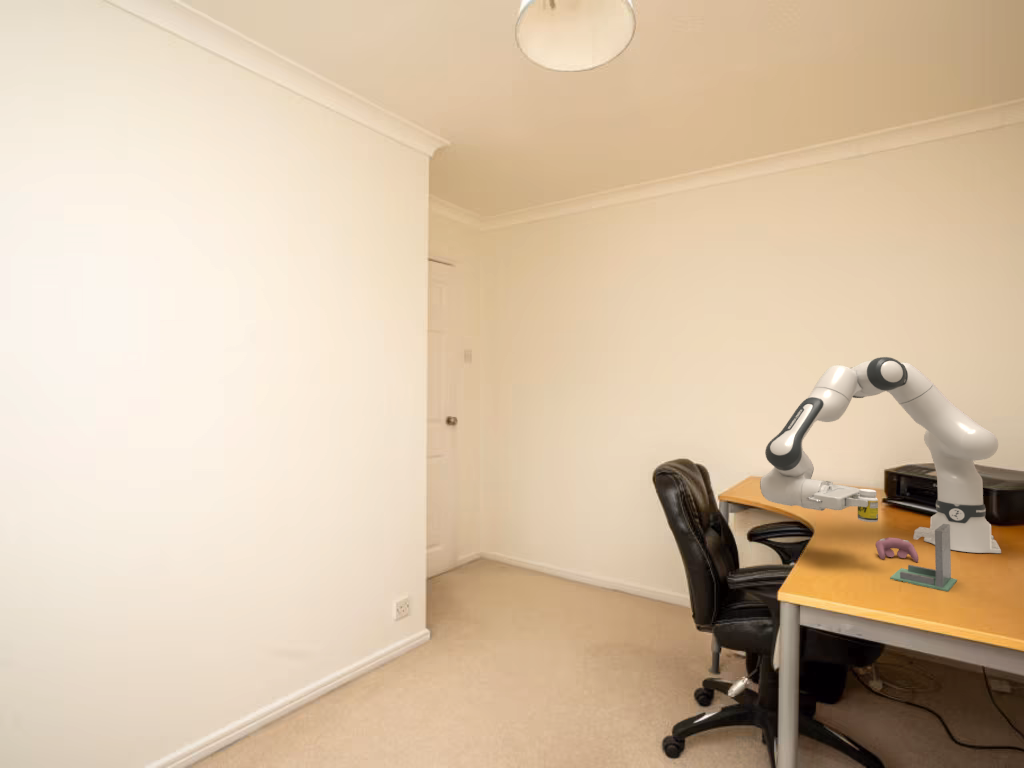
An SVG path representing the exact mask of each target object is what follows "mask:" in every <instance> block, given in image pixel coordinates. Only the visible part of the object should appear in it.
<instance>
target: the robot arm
mask: <svg viewBox="0 0 1024 768" xmlns="http://www.w3.org/2000/svg"><path fill="white" fill-rule="evenodd" d="M885 392H887V393H889V394H890V395H891V396H892V397H893V399H895V401H896V402H897V403H898V405H900V406H901V408H902V409H903V410H904V411H905V412H906V413H907V414H908V415H909V416H910V418H911V419H912V420H913V421H914V422H915V423H916V424H918V425H919V426H920V427H922V428H924V429H925V430H926V431H925V432H924V434H923V440H924V444H925V446H926V447H927V448H928V449H929V452H930V454H931V455H930V456H931V458H932V463H933V464H934V465H933V466H934V468H935V473H936V479H937V480H936V481H937V482H936V485H937V499H936V501H935V507H936V508H935V509H936V513H935V514H933V515H932V516H930V526H929V528H932V529H937V528H938V527H940V526H941V525H942V524H949V525H950V550H952V551H958V552H963V553H966V552H967V553H973V554H975V553H977V554H982V553H983V554H987V553H989V554H1002V549H1001V548H1000V546H999V543H998V542H997V540H995V536H994V535H992V524H991V523H990V522H989V521H987V519H986V511H987V510H986V509H987V508H986V504H984V496H983V495H984V489H983V488H984V487H983V485H984V484H983V482H984V480H983V478H982V476H981V475H980V473H979V472H978V470H977V468H976V466H975V463H974V462H975V461H982V460H987V459H989V458H991V457H993V456H994V455H996V453H997V451H998V448H999V441H998V438H997V436H996V434H994V433H993V432H992V431H990V430H988V429H987V428H985V427H983V426H982V425H980V424H979V423H977V421H975V420H974V419H972V418H971V417H970V416H969V415H967V414H966V413H965V412H964V411H962V410H961V409H960V408H958V407H957V406H955V405H954V403H952V402H951V401H950V400H949V399H948V398H947V397H946V396H945V395H944V394H943V393H942V391H940V389H939V388H938V387H937V386H936V385H935V384H934V382H933V381H931V379H929V378H928V377H927V375H926V374H924V373H923V372H922V371H920V370H919V369H918V368H917V367H915V366H914V365H912V364H911V363H910V362H907V361H906V362H903V361H902V362H901V361H899V360H898V359H895V358H893V357H888V356H883V357H882V356H881V357H876V358H874V359H871V360H870V359H869V360H867V361H863V362H860V363H859V364H857V365H854V366H853V367H848V366H846V365H841V364H836V365H831V366H830V367H828V368H827V369H826V371H824V373H823V374H822V375H821V376H820V378H819V379H818V380H817V382H816V384H815V385H814V387H813V389H812V391H811V392H810V394H809V395H808V397H807V398H805V399H804V400H803V401H802V402H801V403H800V405H799V406H798V407H796V410H795V411H794V412H793V414H792V416H790V418H789V420H788V421H787V422H786V424H785V426H784V427H783V428H782V430H780V432H779V433H778V434H777V435H776V436H774V437H773V438H772V439H771V440H770V441H769V442H768V444H767V445H766V447H765V458H766V460H767V461H768V463H770V465H771V466H773V468H772V469H771V470H770V471H769V472H768V473H767V474H766V475H763V476H762V477H761V479H760V482H759V488H760V492H761V494H762V496H763V498H765V500H767V501H768V502H771V503H774V504H779V505H783V506H789V507H793V506H799V507H801V508H803V509H809V510H815V511H825V509H827V510H828V509H829V510H833V511H842V510H844V509H847V508H849V507H858V506H861V507H867V506H869V501H868V500H864V499H861V500H860V499H858V496H860V495H859V489H860V488H857V487H854V486H847V485H843V484H835V483H834V481H828V480H826V481H825V480H821V479H812V476H813V473H814V463H813V462H812V460H811V458H810V457H809V456H808V455H807V453H806V452H805V451H804V448H803V440H805V437H806V436H807V434H808V432H809V431H810V430H811V428H812V426H814V424H815V423H816V422H817V421H819V422H822V423H831V422H832V423H833V422H835V421H838V420H839V419H841V417H842V416H843V415H844V414H845V412H846V411H847V410H848V407H849V405H850V403H851V401H852V399H853V398H854V399H863V398H866V397H873V396H877V395H880V394H882V393H885ZM923 541H924V542H926V543H931V544H932V545H934V546H935V539H934V538H928V537H923Z"/></svg>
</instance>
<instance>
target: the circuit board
mask: <svg viewBox="0 0 1024 768" xmlns="http://www.w3.org/2000/svg"><path fill="white" fill-rule="evenodd" d="M900 572H906V573H911V574H916V575H921V576H926V577H931V578H935V585H929V584H924V583H919V582H915V581H910V580H905V579H900ZM889 579H890V580H891V579H894V580H893V581H896V580H898V582H901V581H903V582H902V583H905V582H908V583H907V584H910V583H911V585H916V586H919V585H920V587H925V588H930V589H934V590H938V591H942V592H950V590H951V589H952V588H953V587H954V585H955V584H956V583H957V581H958V579H957V578H952V577H951V579H950V580H949V582H948V583H947V584H946V585H945V586H944V587H943V588H941V587H936V577H934V576H929V575H924V574H919V573H914V572H909V571H908V568H902V567H901V568H899V569H898V570H897V571H896V572H894V573H893V574H892V575H891V576H890V577H889Z"/></svg>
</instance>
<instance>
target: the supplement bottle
mask: <svg viewBox="0 0 1024 768" xmlns="http://www.w3.org/2000/svg"><path fill="white" fill-rule="evenodd" d="M858 489H859V495H860V496H858V499H860V500H861V499H864V500H868V501H869V506H867V507H861V506H857V519H858V520H859V521H862V522H866V523H877V522H878V521H879V499H878V498H877V491H876V490H874V489H869V488H868V489H867V488H858Z"/></svg>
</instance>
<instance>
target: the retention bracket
mask: <svg viewBox="0 0 1024 768" xmlns="http://www.w3.org/2000/svg"><path fill="white" fill-rule="evenodd" d="M921 537H923V538H925V537H928V538H934V539H935V545H934V550H935V551H934V555H935V557H934V558H935V559H934V560H935V569H933V568H928V567H922V566H917V565H912V564H908V565H907V569H908V571H909V572H914V573H919V574H924V575H929V576H934V577H936V587H941V588H943V587H944V586H945V585H946V584H947V583H948V582H949V580H950V579H951V578H952V564H951V563H952V561H951V560H952V559H951V558H952V556H951V549H950V525H949V524H942V525H941V526H940V527H938V528H937V529H932V528H930V527H925V526H924V527H923V526H919V527H918V528H916V529H915V530H914V534H913V540H917V541H918V540H919V539H921ZM900 579H905V580H910V581H915V582H919V583H924V584H929V585H935V578H931V577H926V576H921V575H916V574H911V573H906V572H900Z"/></svg>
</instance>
